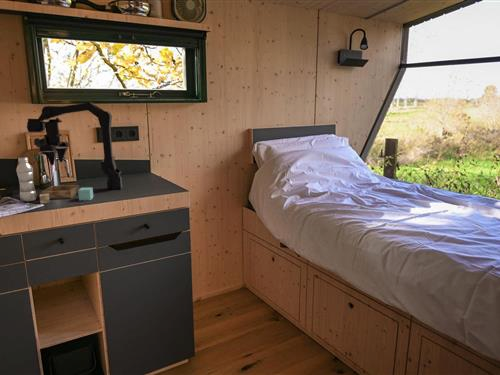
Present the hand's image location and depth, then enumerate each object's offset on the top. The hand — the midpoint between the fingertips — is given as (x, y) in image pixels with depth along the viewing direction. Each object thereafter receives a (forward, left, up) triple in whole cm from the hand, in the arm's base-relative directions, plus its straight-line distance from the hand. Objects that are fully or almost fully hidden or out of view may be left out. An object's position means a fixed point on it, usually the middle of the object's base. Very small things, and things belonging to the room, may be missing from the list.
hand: (56, 163), depth 185 cm
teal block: (-18, +19, -14) cm, 29 cm away
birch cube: (-1, +22, -14) cm, 26 cm away
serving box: (-4, +10, -14) cm, 18 cm away
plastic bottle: (+7, +19, -14) cm, 25 cm away
